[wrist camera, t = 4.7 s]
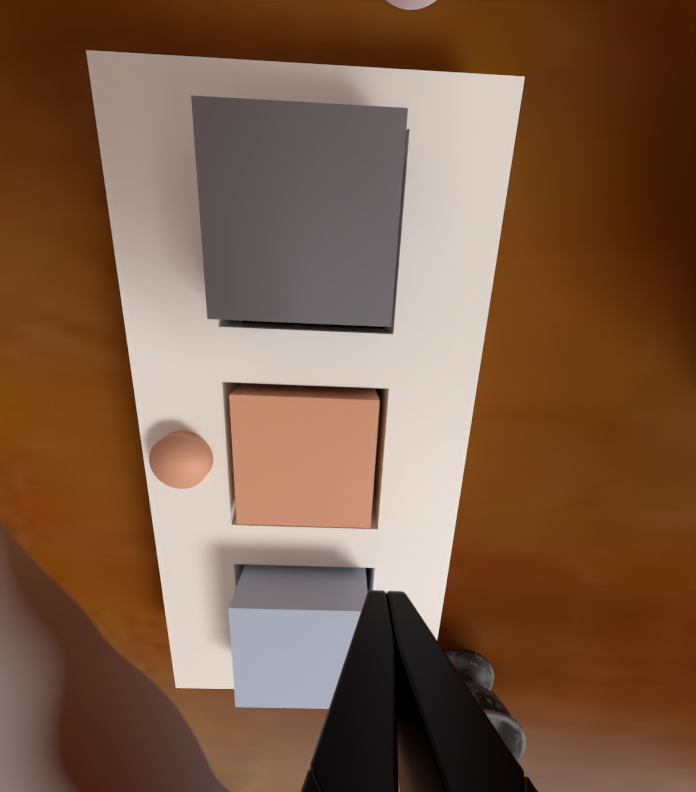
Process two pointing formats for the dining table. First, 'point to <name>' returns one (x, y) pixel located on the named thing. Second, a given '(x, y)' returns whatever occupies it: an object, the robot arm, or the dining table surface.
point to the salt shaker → (488, 697)
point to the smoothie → (410, 3)
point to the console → (300, 330)
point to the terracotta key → (304, 454)
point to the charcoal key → (299, 209)
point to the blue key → (292, 633)
